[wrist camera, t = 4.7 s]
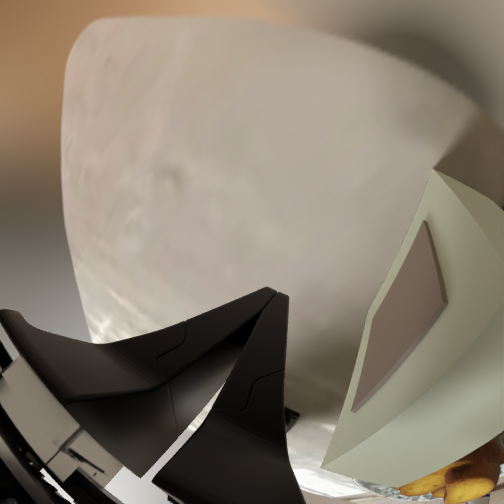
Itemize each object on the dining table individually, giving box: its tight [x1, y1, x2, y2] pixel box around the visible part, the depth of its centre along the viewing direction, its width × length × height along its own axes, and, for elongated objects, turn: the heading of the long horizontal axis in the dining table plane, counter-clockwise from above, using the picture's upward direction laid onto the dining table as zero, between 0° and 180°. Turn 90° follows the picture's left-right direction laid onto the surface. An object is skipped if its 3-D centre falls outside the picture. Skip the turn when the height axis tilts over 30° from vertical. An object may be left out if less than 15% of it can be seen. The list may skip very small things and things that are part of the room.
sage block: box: [321, 169, 504, 488], centre depth 10 cm, size 10×4×11 cm, turn 170°
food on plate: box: [352, 435, 504, 504], centre depth 18 cm, size 25×25×7 cm
